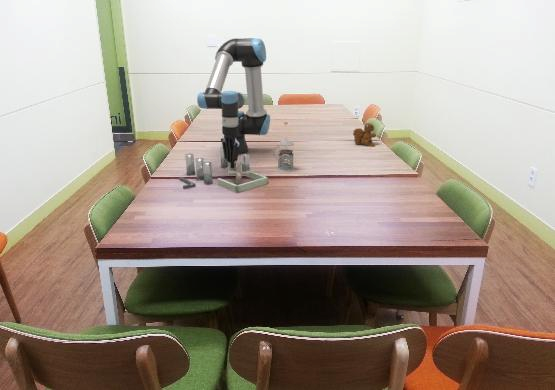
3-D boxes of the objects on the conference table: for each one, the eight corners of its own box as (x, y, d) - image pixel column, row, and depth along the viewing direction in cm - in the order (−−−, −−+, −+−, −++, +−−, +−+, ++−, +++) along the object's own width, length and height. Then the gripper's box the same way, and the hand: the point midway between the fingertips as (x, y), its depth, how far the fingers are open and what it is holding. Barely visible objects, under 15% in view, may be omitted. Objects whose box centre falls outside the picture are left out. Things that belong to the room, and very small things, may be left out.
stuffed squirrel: (375, 146, 275) (377, 125, 270) (352, 146, 277) (353, 124, 272) (375, 142, 284) (376, 122, 280) (352, 142, 286) (353, 121, 282)
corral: (248, 176, 224) (248, 170, 223) (268, 183, 213) (268, 177, 212) (217, 184, 212) (217, 178, 211) (237, 192, 202) (236, 186, 200)
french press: (293, 172, 228) (293, 123, 219) (271, 171, 230) (270, 123, 222) (296, 167, 237) (297, 119, 228) (275, 165, 239) (274, 119, 231)
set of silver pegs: (224, 164, 243) (223, 146, 240) (251, 173, 227) (251, 154, 224) (182, 174, 227) (181, 155, 224) (208, 185, 211) (207, 165, 208)
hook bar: (170, 181, 217) (170, 178, 217) (181, 179, 220) (181, 176, 220) (184, 189, 207) (184, 186, 206) (195, 186, 210) (195, 183, 210)
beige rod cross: (228, 187, 208) (230, 167, 204) (225, 178, 217) (227, 158, 212) (249, 187, 211) (251, 168, 207) (245, 178, 219) (247, 159, 215)
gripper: (215, 124, 210) (217, 172, 218) (231, 129, 201) (232, 179, 209) (228, 122, 215) (229, 169, 223) (245, 126, 206) (245, 176, 214)
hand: (231, 174), depth 216 cm, fingers closed
